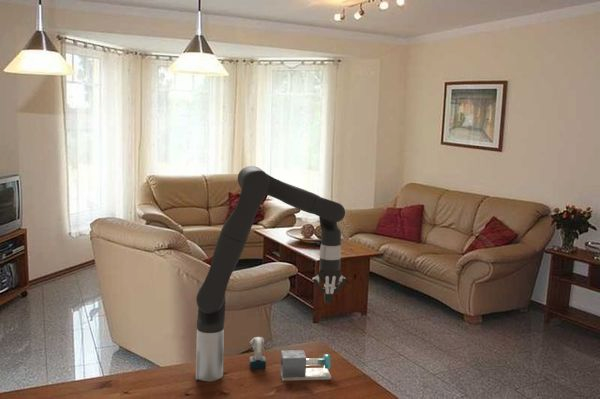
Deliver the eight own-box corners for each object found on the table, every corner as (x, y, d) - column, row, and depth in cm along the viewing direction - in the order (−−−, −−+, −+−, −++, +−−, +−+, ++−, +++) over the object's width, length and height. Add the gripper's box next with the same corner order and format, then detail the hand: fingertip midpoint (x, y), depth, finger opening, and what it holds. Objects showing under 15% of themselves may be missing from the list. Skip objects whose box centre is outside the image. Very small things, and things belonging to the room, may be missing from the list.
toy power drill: (264, 362, 204) (265, 333, 203) (265, 371, 197) (267, 342, 195) (249, 362, 204) (249, 333, 202) (250, 372, 196) (251, 342, 194)
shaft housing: (282, 380, 190) (283, 358, 189) (280, 371, 197) (281, 350, 196) (330, 379, 193) (331, 357, 192) (327, 370, 200) (328, 349, 199)
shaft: (292, 372, 192) (293, 358, 191) (290, 365, 196) (291, 352, 196) (330, 371, 193) (331, 357, 193) (327, 365, 198) (328, 351, 198)
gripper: (313, 259, 193) (312, 306, 196) (350, 258, 195) (348, 306, 198) (310, 254, 200) (308, 299, 203) (345, 253, 202) (343, 299, 205)
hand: (328, 302), depth 200 cm, fingers closed
